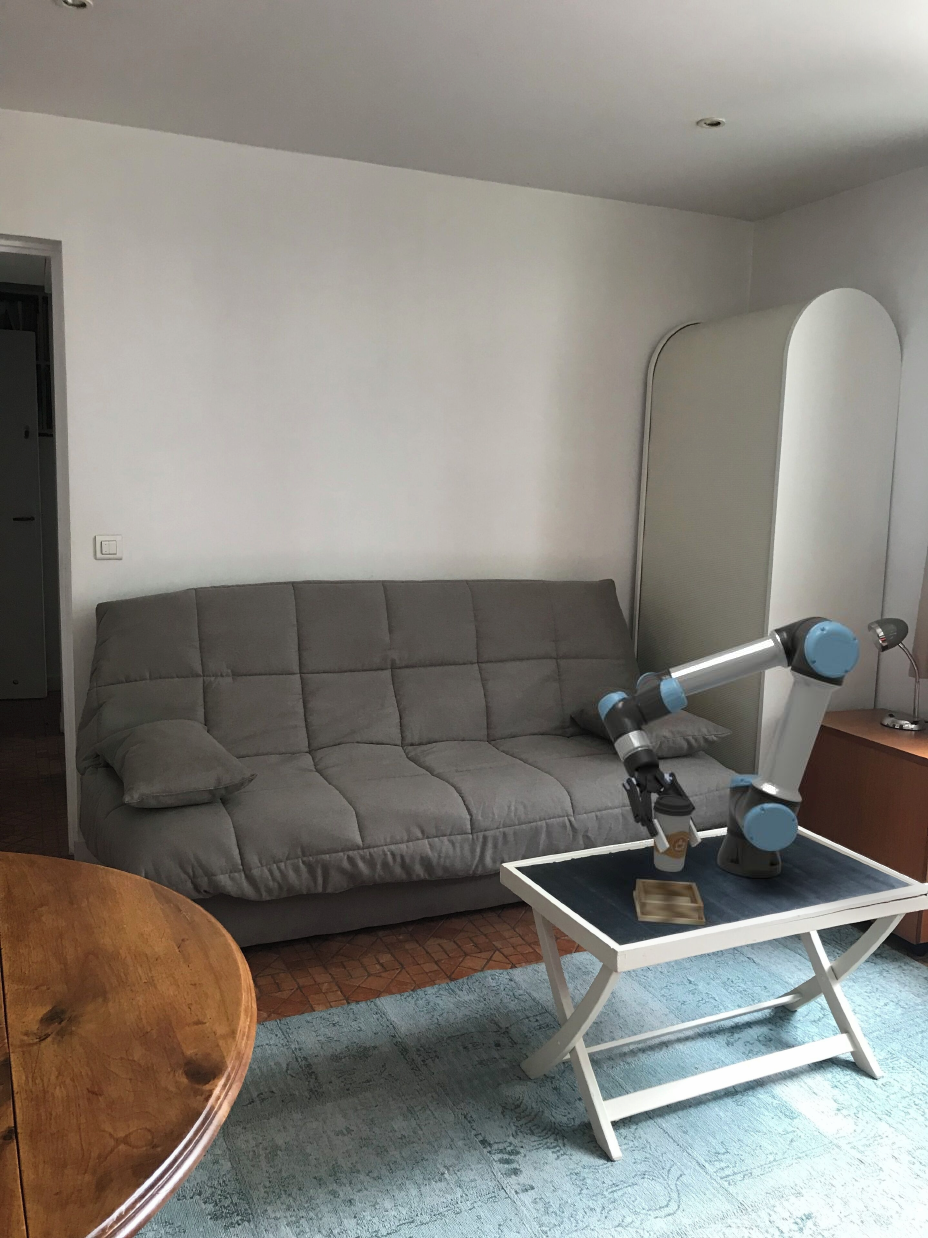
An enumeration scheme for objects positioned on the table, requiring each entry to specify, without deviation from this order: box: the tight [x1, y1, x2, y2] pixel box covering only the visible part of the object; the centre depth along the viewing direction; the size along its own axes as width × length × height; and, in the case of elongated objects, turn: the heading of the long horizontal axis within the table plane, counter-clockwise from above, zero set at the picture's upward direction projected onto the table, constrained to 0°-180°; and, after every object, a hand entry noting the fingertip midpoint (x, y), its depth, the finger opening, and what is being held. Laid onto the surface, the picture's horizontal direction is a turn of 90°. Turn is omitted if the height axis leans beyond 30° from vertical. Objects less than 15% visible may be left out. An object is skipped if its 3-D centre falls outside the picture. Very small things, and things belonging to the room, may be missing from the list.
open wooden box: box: [632, 878, 706, 926], centre depth 218 cm, size 14×14×4 cm
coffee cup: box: [652, 795, 693, 873], centre depth 216 cm, size 8×8×15 cm
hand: (680, 846), depth 213 cm, fingers closed on coffee cup, 8 cm apart
